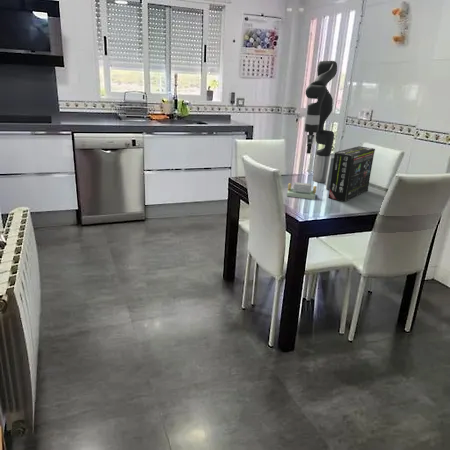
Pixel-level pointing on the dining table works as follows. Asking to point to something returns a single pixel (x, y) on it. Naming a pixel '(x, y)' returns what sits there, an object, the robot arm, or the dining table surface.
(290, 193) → the tray
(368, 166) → the router box
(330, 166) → the hard drive box
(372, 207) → the dining table surface
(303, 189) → the block
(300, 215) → the dining table surface
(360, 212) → the dining table surface
